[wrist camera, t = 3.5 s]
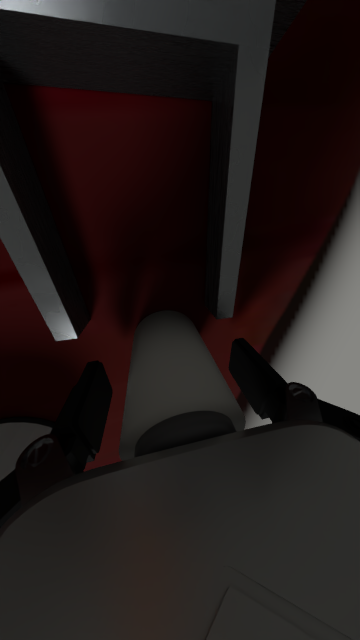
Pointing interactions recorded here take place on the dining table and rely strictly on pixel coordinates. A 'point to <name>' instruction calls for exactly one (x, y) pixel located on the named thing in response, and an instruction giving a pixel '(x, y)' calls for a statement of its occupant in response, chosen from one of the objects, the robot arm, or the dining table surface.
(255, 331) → the dining table surface
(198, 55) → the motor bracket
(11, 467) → the mug
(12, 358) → the dining table surface
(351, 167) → the dining table surface
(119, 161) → the dining table surface
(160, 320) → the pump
